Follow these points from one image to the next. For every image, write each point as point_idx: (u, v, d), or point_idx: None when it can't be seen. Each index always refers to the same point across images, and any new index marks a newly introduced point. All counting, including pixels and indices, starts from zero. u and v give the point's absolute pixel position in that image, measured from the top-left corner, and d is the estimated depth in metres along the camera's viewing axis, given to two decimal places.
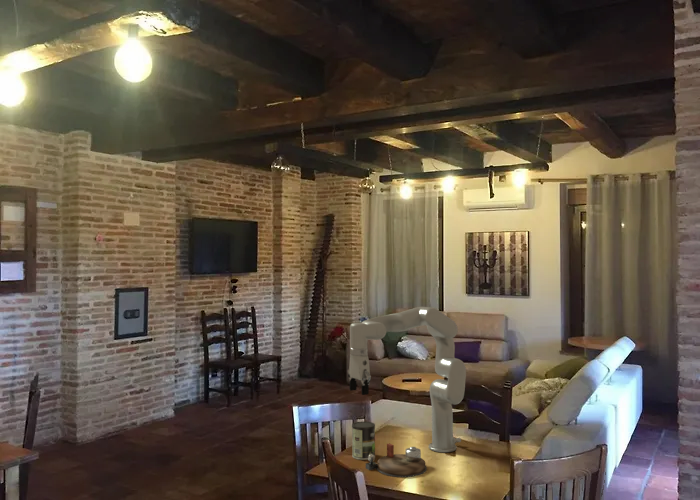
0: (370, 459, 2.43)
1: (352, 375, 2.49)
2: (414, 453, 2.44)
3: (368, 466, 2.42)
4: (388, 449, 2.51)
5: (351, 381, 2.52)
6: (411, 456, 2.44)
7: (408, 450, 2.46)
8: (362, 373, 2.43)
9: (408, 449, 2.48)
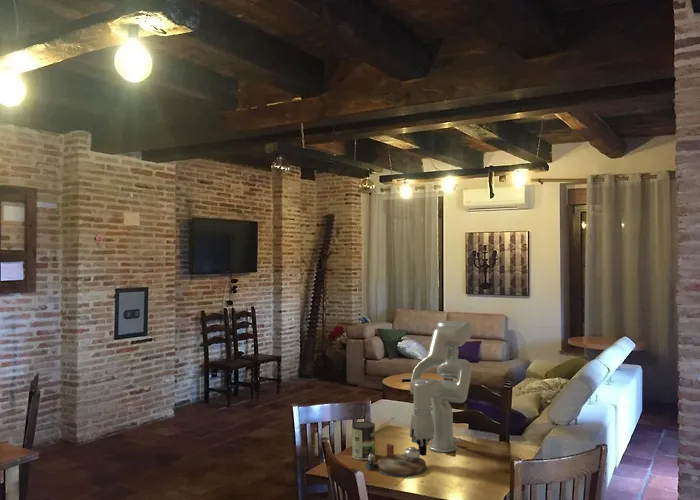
0: (370, 459, 2.43)
1: (422, 437, 2.47)
2: (413, 453, 2.44)
3: (368, 466, 2.42)
4: (388, 449, 2.51)
5: None
6: (410, 456, 2.44)
7: (407, 450, 2.46)
8: None
9: (407, 449, 2.47)
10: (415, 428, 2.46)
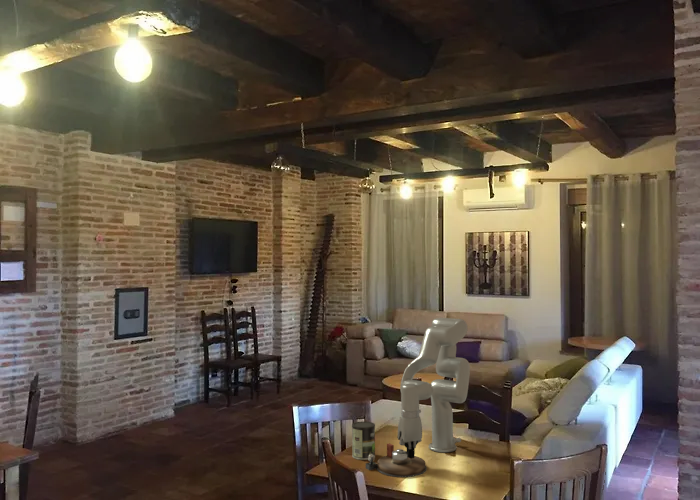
0: (370, 459, 2.43)
1: (410, 439, 2.44)
2: (401, 456, 2.41)
3: (368, 466, 2.42)
4: (388, 449, 2.51)
5: None
6: (397, 459, 2.41)
7: (395, 452, 2.43)
8: None
9: (395, 451, 2.45)
10: (403, 431, 2.43)
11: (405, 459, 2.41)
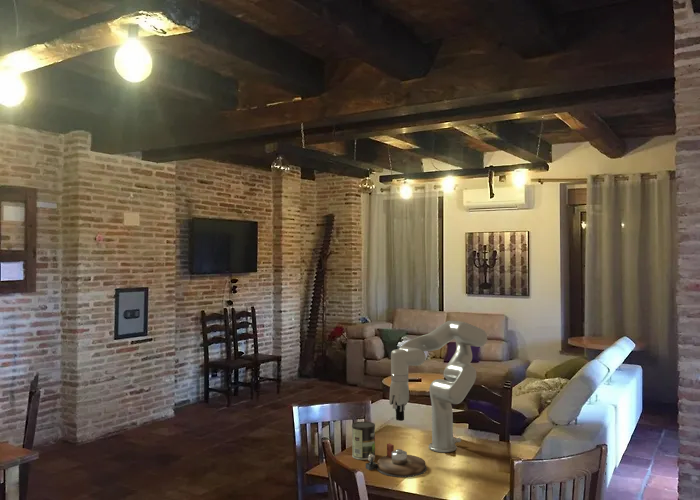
0: (370, 459, 2.43)
1: (402, 402, 2.53)
2: (400, 456, 2.40)
3: (368, 466, 2.42)
4: (388, 449, 2.51)
5: None
6: (397, 459, 2.41)
7: (394, 453, 2.43)
8: None
9: (394, 452, 2.44)
10: (397, 394, 2.51)
11: (404, 459, 2.41)
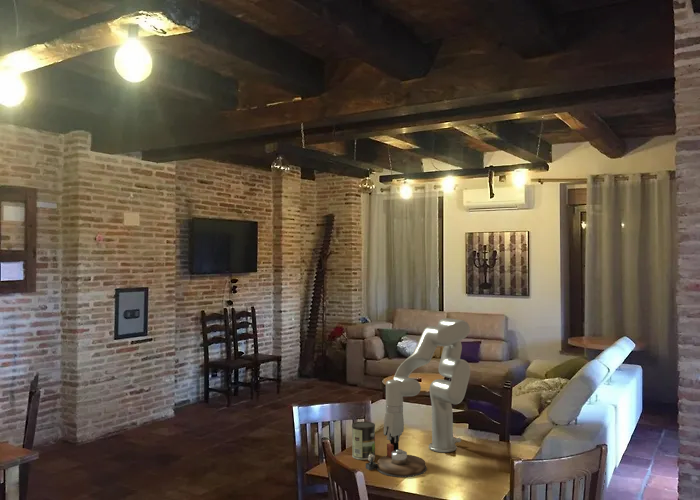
0: (370, 459, 2.43)
1: (396, 433, 2.52)
2: (400, 456, 2.40)
3: (368, 466, 2.42)
4: (388, 449, 2.51)
5: None
6: (397, 459, 2.41)
7: (394, 453, 2.43)
8: None
9: (394, 452, 2.44)
10: (391, 425, 2.50)
11: (404, 459, 2.41)
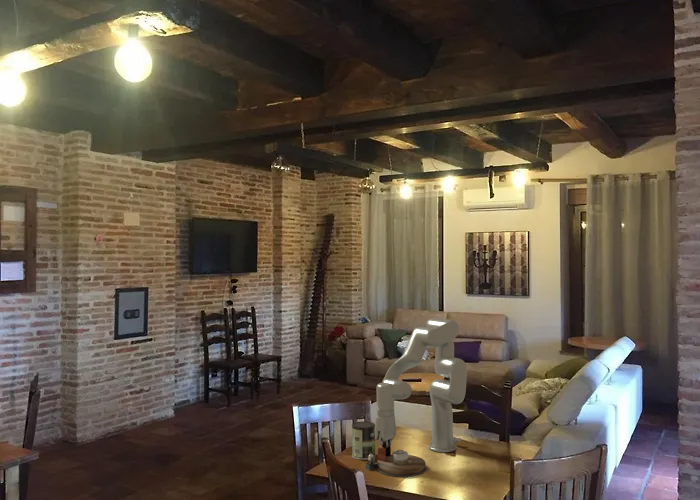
0: (370, 459, 2.43)
1: (388, 437, 2.47)
2: (406, 455, 2.41)
3: (368, 466, 2.42)
4: (380, 453, 2.46)
5: None
6: (403, 459, 2.40)
7: (398, 454, 2.41)
8: None
9: (395, 453, 2.42)
10: (382, 430, 2.45)
11: (407, 458, 2.43)
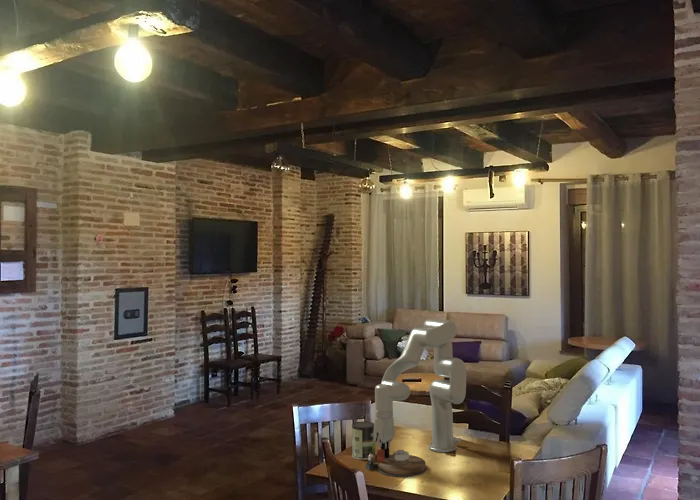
0: (370, 459, 2.43)
1: (386, 439, 2.45)
2: (408, 455, 2.42)
3: (368, 466, 2.42)
4: (380, 455, 2.44)
5: None
6: (406, 459, 2.40)
7: (399, 454, 2.41)
8: None
9: (397, 454, 2.42)
10: (381, 431, 2.43)
11: None
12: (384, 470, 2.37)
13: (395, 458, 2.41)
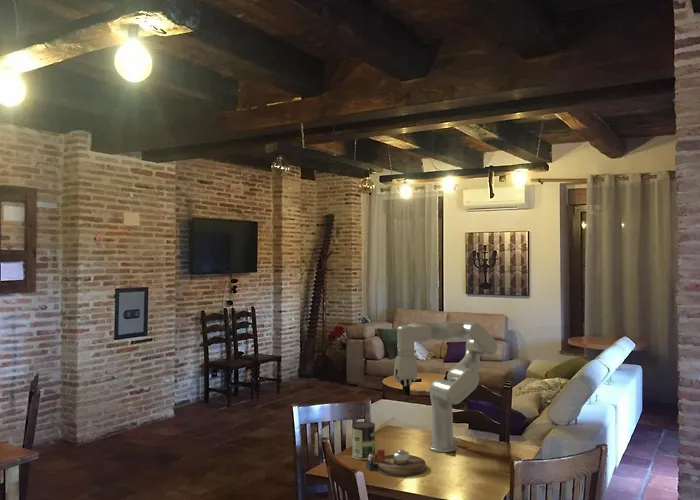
0: (370, 459, 2.43)
1: (405, 377, 2.58)
2: (408, 455, 2.42)
3: (368, 466, 2.42)
4: (380, 455, 2.44)
5: None
6: (406, 459, 2.40)
7: (400, 454, 2.41)
8: None
9: (397, 454, 2.42)
10: (399, 368, 2.57)
11: None
12: (384, 470, 2.37)
13: (395, 458, 2.41)
